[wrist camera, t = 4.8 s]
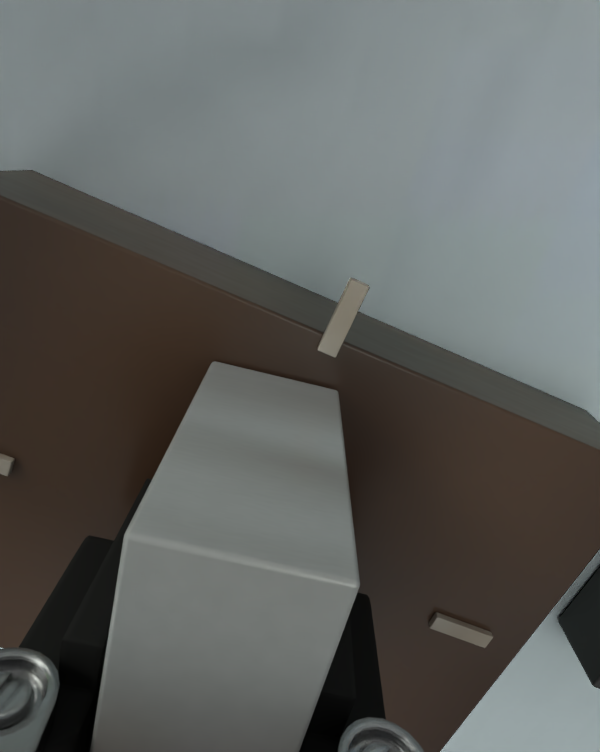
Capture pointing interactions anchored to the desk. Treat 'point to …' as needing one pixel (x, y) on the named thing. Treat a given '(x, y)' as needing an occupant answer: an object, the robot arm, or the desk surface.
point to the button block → (585, 627)
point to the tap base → (296, 362)
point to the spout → (233, 575)
